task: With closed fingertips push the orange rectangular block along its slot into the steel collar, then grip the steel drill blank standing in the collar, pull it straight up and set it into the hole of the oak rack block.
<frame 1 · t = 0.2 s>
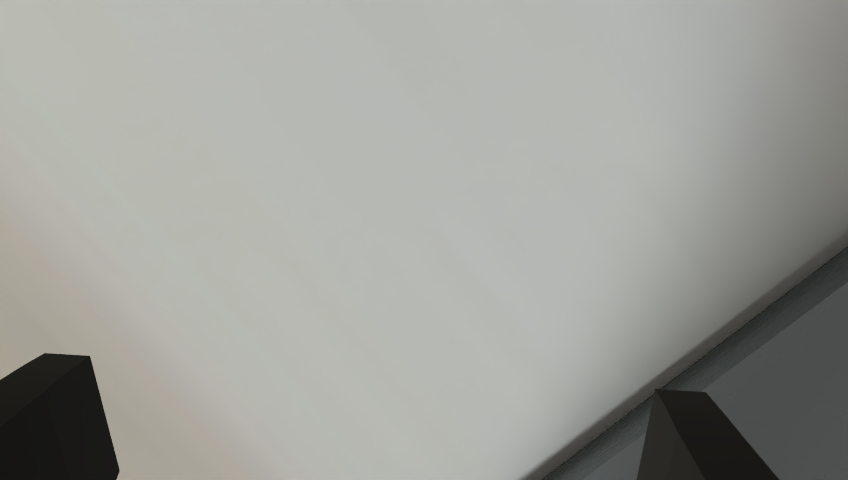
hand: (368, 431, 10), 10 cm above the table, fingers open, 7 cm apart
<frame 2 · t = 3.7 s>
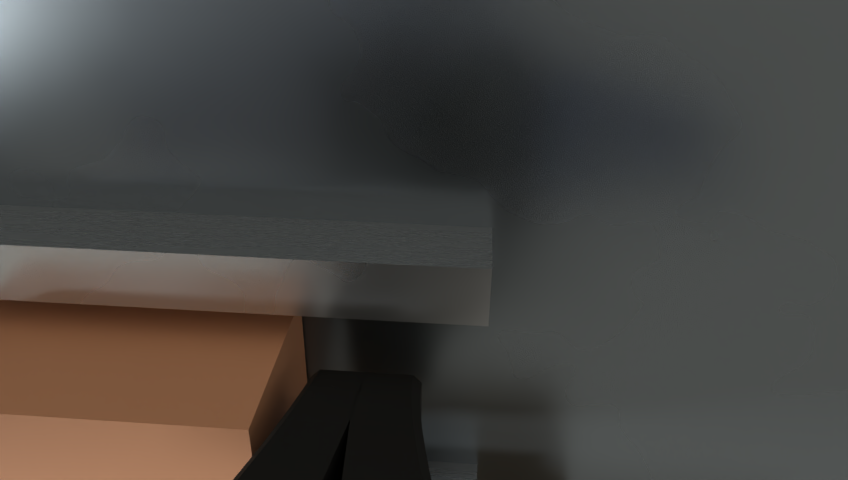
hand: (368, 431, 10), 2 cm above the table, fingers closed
orange rectangular block: (127, 423, 10), point 2 cm above the table, slide at 0.0 cm, touching gripper
slate board: (241, 389, 13), on the table
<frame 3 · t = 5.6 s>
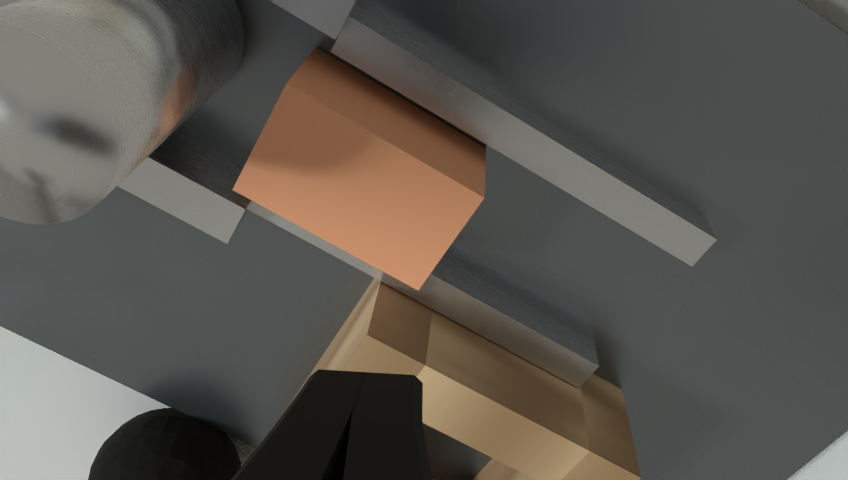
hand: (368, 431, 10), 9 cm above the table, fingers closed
orange rectangular block: (366, 167, 16), point 2 cm above the table, slide at 2.6 cm
slate board: (462, 236, 19), on the table
drill blank: (173, 28, 16), point 1 cm above the table, touching slate board
rack: (435, 415, 20), resting on slate board
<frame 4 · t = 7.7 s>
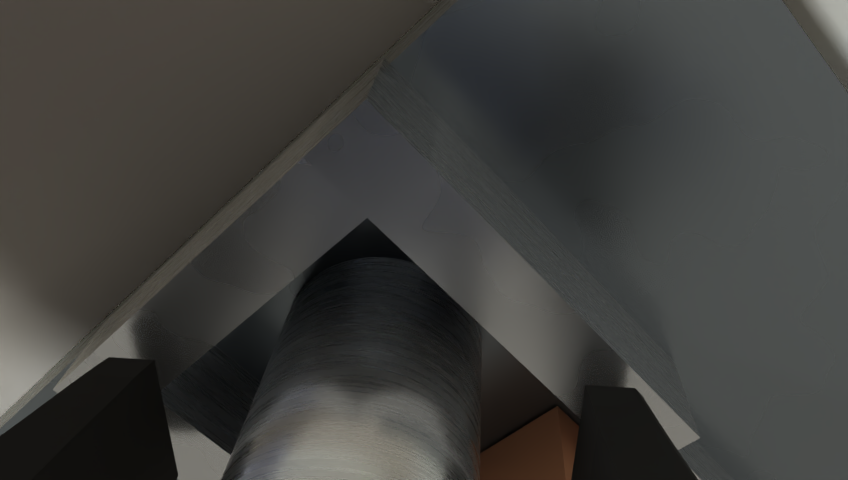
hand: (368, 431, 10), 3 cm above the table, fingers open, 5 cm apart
drill blank: (383, 341, 12), point 1 cm above the table, touching slate board
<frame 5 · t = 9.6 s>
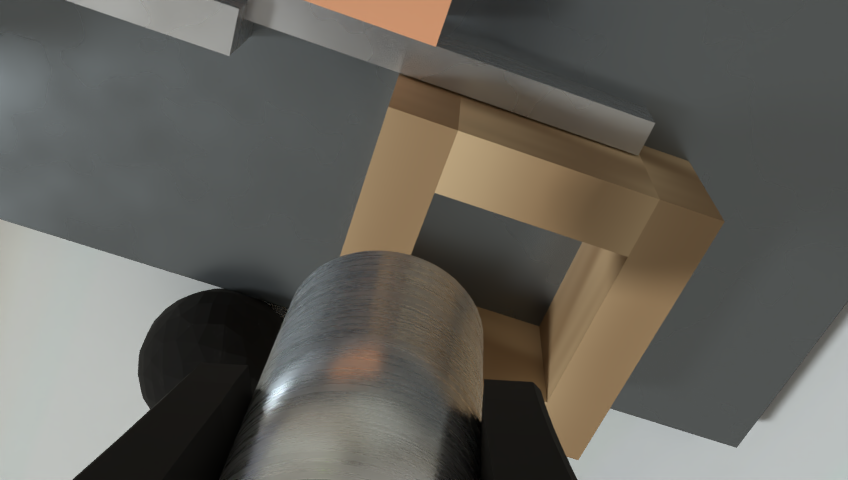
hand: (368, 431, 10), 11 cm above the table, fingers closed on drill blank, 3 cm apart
slate board: (482, 28, 18), on the table
drill blank: (384, 335, 11), point 9 cm above the table, touching gripper
rack: (493, 237, 19), resting on slate board
when the fingers open (4 cm above the table, at t = 11.3 s): drill blank drops 1 cm, resting on slate board.
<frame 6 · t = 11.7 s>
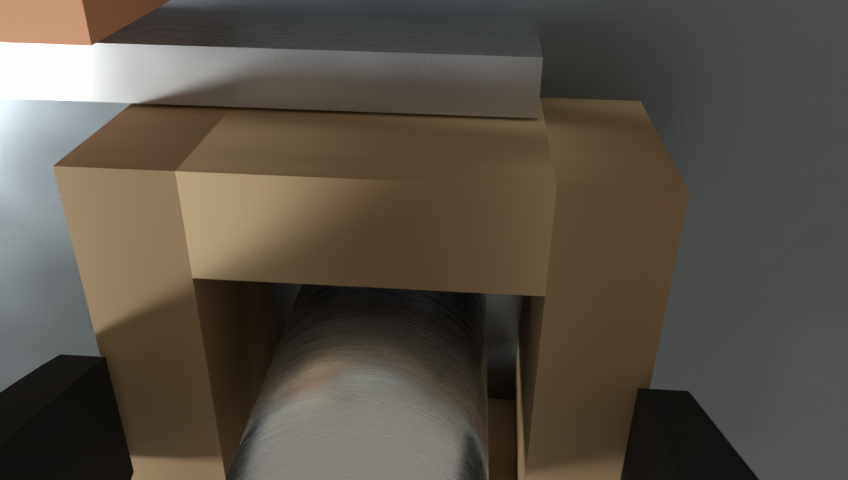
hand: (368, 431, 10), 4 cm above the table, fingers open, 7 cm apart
drill blank: (395, 294, 12), point 1 cm above the table, touching slate board
rack: (395, 295, 13), resting on slate board
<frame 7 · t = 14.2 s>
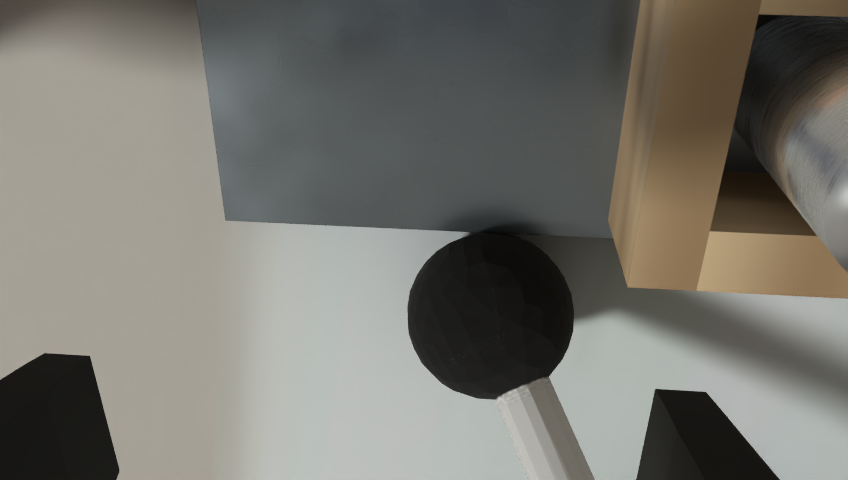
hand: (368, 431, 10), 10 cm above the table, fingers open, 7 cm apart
mechanical valve: (608, 475, 24), on the table
drill blank: (793, 82, 16), point 1 cm above the table, touching slate board
rack: (792, 84, 16), resting on slate board
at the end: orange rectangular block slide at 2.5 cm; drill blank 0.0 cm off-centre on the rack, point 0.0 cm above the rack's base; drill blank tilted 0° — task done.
